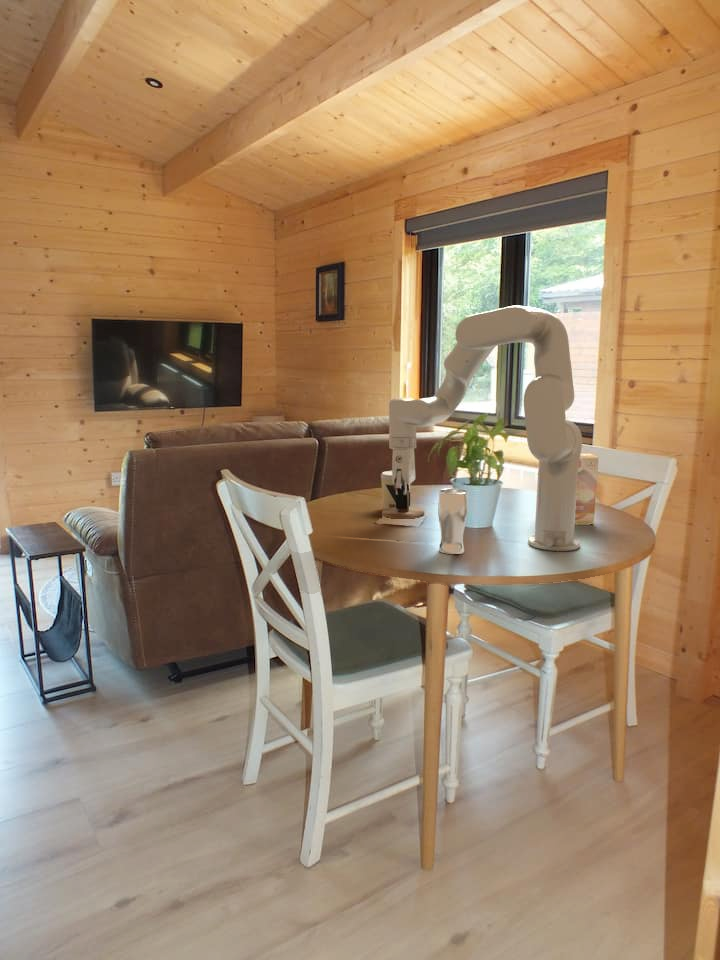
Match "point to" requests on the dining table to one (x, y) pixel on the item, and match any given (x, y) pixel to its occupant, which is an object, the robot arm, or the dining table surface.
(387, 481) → the coffee cup
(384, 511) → the lid
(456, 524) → the beer glass
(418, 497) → the dining table surface
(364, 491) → the dining table surface
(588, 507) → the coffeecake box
